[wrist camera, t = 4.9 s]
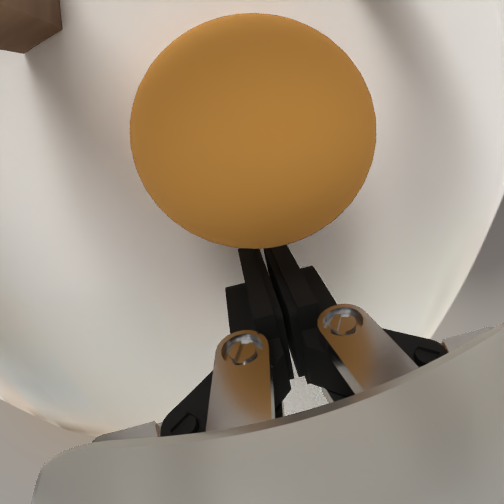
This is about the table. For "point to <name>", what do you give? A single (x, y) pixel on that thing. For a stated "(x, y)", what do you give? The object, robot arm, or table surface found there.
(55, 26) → the bridge
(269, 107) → the ball
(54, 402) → the table surface
